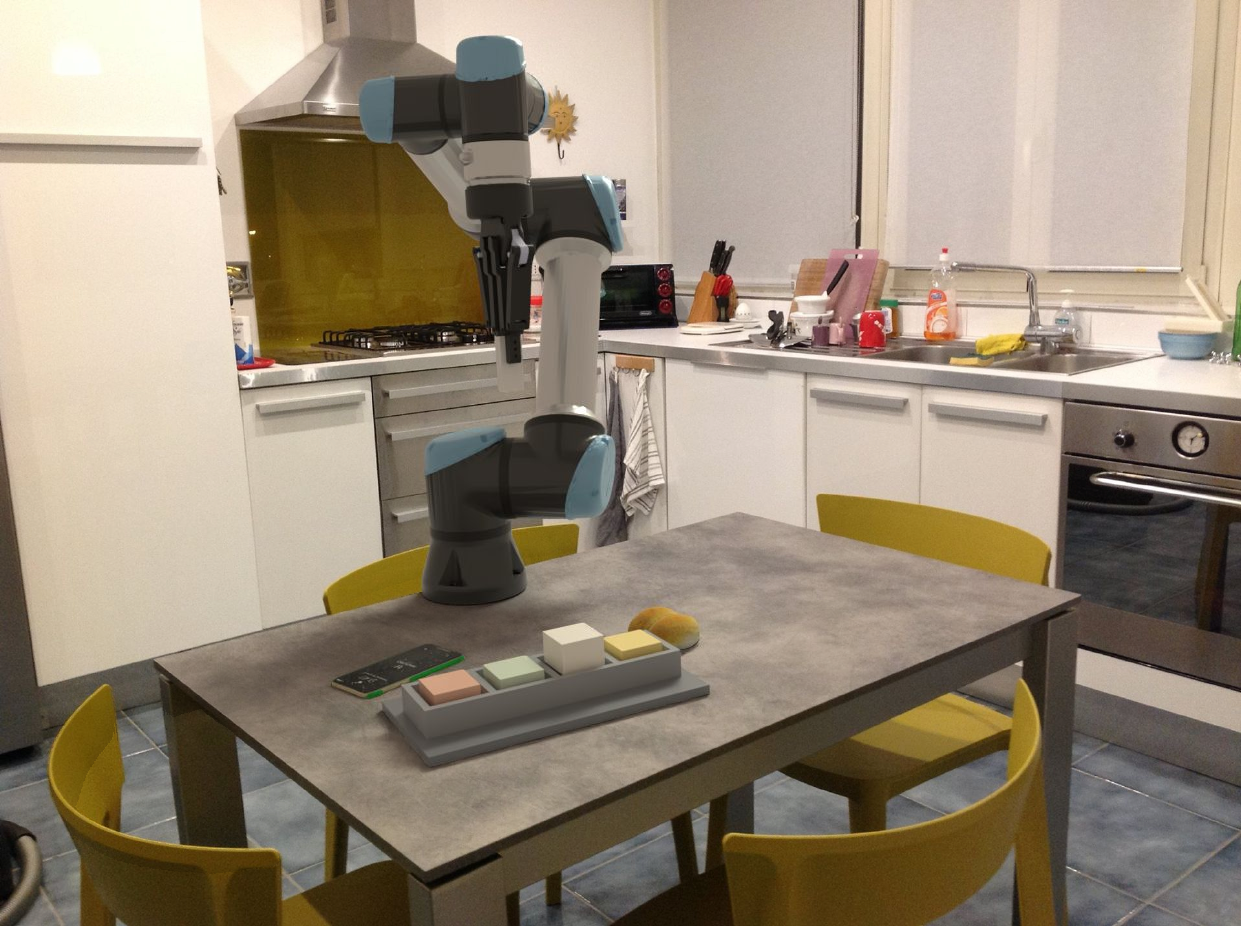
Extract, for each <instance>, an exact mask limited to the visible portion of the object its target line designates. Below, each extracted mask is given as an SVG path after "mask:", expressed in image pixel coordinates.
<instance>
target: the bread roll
mask: <svg viewBox="0 0 1241 926" xmlns="http://www.w3.org/2000/svg"><path fill="white" fill-rule="evenodd" d="M627 627H628V628H627V632H631V631H635V630H647V631H649V632H650V633H652V634H654V635H656V636H657V637H659V638H661V639H662V640H664V641H666V642H668V643H669V644H671V645H673V646H674V647H676V648H678V649H680V650H681V651H682V650H685V649H688V648H691V647H692V646H694V645H695V644H697V642H698V641H699V639H700V633H701V631H700V626H699V624H698V622H697V620H696V619H695V618H694V617H693V616H690V615H686V614H684V613H683V614H681V613H677V611H675V610H672V609H670V608H668V607H665V606H651V607H648V608H645V609H642V611H640V612H638V613H637V615H635V616H634V617H633V618H632V619H631V621H630V622H629V624H628V626H627Z"/></svg>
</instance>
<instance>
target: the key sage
mask: <svg viewBox="0 0 1241 926" xmlns="http://www.w3.org/2000/svg"><path fill="white" fill-rule="evenodd" d="M482 667H483V674H484V680H485V681H487V682H488V683H489V684H490V685H491V686H492V687H493V688H494V689H496V690H497V691H498V690H502V689H506V688H510V687H515V686H519V685H523V684H527V683H531V682H536V681H540V680H544V679H545V675H544V669H543V668H542V667H540V666H539V665H538V664H536V663H535V662H534V661H532V660H531V659H530V658H529V657H527V655H526V654H525V655H521V656H515V657H512V658H506V659H503V660H498V661H493V662H489V663H485V664H482Z"/></svg>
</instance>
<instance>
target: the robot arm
mask: <svg viewBox="0 0 1241 926" xmlns="http://www.w3.org/2000/svg"><path fill="white" fill-rule="evenodd" d="M455 51H456V52H455V53H456V54H455V59H456V60H455V71H454V72H452V73H451V72H450V73H436V74H435V73H434V74H420V75H419V74H417V75H400V76H399V75H398V76H395V75H390V76H388V77H381V78H374V79H368V80H366V81H364V83H363V84H362V85H361V88H360V89H359V90H360V91H359V96H358V115H359V120H360V124H361V128H362V130H363V132H364V135H365V137H367V139H368V140H369V141H370V142H372V143H373V142H374V143H383V144H385V143H386V144H389V145H390V144H394V143H398V145H399V146H401V148H402V149H403V150H404V151H405V152H406V153H407V155H408V156H409V157H410V158H411V160H412V161H413V162H414V163H415V164H416V166H417V167H418V168H419V169H420V171H421V172H422V173H423V174H424V176H425V177H426V178H427V179H428V181H429V182H430V183H431V184H432V185H433V186H434V188H435V189H436V190H437V191H438V192H439V194H440V195H441V197H443V199H444V200H445V201H446V202H447V208H448V209H447V210H448V213H449V215H450V217H451V218H452V220H453V222H454V223H455V224H456V225H457V227H459V229H460V230H461V231H463V232H464V234H466V235H468V236H469V237H471V238H472V239H473V240H475V241H477V242H479V246H473V247H472V251H471V252H472V256H473V259H474V263H475V266H476V272H477V279H478V285H479V291H480V297H481V304H482V305H481V306H482V310H483V317H484V318H483V319H484V323H485V328H486V329H491V333H492V335H493V336H494V346H495V348H494V349H495V350H494V351H495V362H496V376H497V377H496V379H497V392H499V393H503V394H504V393H514V392H523V391H525V378H524V376H525V375H524V360H523V343H522V335H523V334H524V331H526V330H527V331H528V330H530V325H531V305H532V281H533V279H532V277H533V264H534V258H535V261H536V263H537V264H538V266H540V268H541V269H542V270H544V271H543V285H542V286H543V289H542V301H541V303H542V304H541V307H542V308H541V320H540V334H539V335H540V336H539V337H540V338H539V351H538V366H537V383H536V384H537V386H536V398H535V399H536V403H535V413H534V414H531V416H529V417H528V418H527V419H526V420H525V422H524V424H523V436H522V437H521V436H519V437H518V436H516V437H508V436H507V435H508V434H507V432H506V430H505V427H503V426H500V425H497V426H494V425H488V426H479V427H474V428H466V429H463V430H457V431H454V432H451V433H446V434H442V435H440V436H437V437H435V438H433V439H431V441H429V442H428V443H427V444H426V447H425V448H424V471H423V476H425V488H426V489H425V490H426V500H427V513H428V523H429V535H430V540H429V541H430V542H429V546H428V551H427V556H426V558H425V563H424V567H423V571H422V575H421V588H422V589H421V591H422V596H423V597H424V598H426V599H428V601H432V602H435V603H438V604H446V605H476V604H479V605H480V604H485V603H486V604H487V603H492V602H497V601H502V600H505V599H508V598H511V597H514V596H516V595H518V594H520V593H521V592H523V591H524V590H525V589H527V586H528V579H527V569H526V567H525V564H524V561H523V559H522V557H521V555H520V552H519V549H518V546H517V544H516V541H515V539H514V537H513V533H512V520H567V521H574V520H576V519H590V518H591V519H593V518H596V517H598V516H600V515H602V514H603V513H604V512H605V510H606V509H607V506H608V505H609V502H610V499H611V495H612V491H613V486H614V481H615V475H616V474H615V473H616V454H617V453H616V451H617V449H616V444H615V440H614V438H613V437H612V436H610V435H608V434H606V426H605V424H604V423H603V422H602V421H601V420H600V419H599V418H598V417H597V416H596V403H597V402H596V401H597V399H596V397H597V379H598V378H597V376H598V356H599V355H598V354H599V353H598V352H599V351H598V350H599V333H600V332H599V329H600V312H601V311H600V310H601V309H600V308H601V307H600V305H601V288H602V287H601V286H602V274H603V272H606V271H608V269H609V268H610V267H611V265H612V261H613V254H617V253H619V252H621V251H623V249H624V234H623V226H622V218H621V214H620V207H619V201H618V196H617V191H616V188H615V185H614V183H613V180H612V179H611V178H610V177H608V176H606V175H604V174H603V175H601V174H600V175H597V174H593V175H588V174H586V173H583V174H581V175H574V176H572V175H571V176H552V177H551V176H550V177H532V176H533V175H532V161H531V160H532V159H531V145H530V141H529V140H530V139H529V138H530V137H529V136H532V135H533V134H536V133H537V132H539V130H540V129H541V128H542V127H543V126H544V124H545V123H546V121H547V119H548V116H549V111H550V101H549V96H548V93H547V91H546V89H545V88H544V86H543V84H541V82H540V80H538V78H537V77H536V76H534V75H533V74H530V73H529V72H526V68H527V62H526V61H525V55H524V47H523V43H522V42H521V41H520V40H519V39H518V38H516V37H513V36H510V35H508V36H507V35H499V34H498V35H495V34H494V35H493V34H492V35H477V36H470V37H467V38H464V39H462V40H460V41H459V43H457V46H456V49H455Z"/></svg>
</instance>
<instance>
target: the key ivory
mask: <svg viewBox="0 0 1241 926" xmlns="http://www.w3.org/2000/svg"><path fill="white" fill-rule="evenodd" d="M604 636H605V635H604V634H603V633H601V632H599V631H598V630H596V629H595V628H593V627H591V626H589V625H588V624H587V623H585V622H579V623H574V624H570V625H566V626H561V627H558V628H552V629H548V630H543V631H542V642H543V645H542V646H543V653H544V661H545V662H546V663H547V664H549V665H550V666H551V667H553V668H554V669H555V670H557V671H558V672H559V673H561V674H562V675H565V674H569V673H574V672H578V671H582V670H586V669H590V668H595V667H599V666H603V665H605V654H604Z"/></svg>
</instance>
